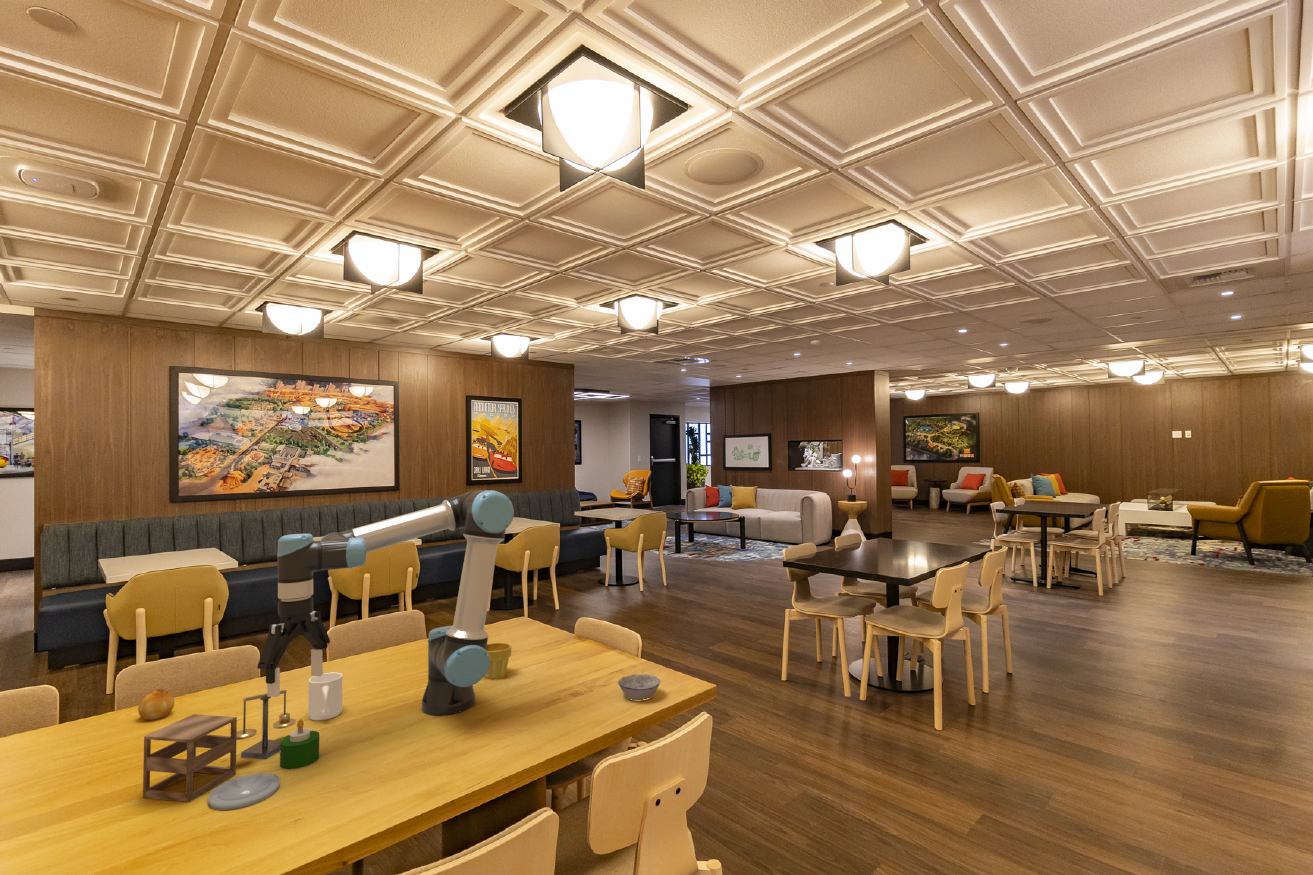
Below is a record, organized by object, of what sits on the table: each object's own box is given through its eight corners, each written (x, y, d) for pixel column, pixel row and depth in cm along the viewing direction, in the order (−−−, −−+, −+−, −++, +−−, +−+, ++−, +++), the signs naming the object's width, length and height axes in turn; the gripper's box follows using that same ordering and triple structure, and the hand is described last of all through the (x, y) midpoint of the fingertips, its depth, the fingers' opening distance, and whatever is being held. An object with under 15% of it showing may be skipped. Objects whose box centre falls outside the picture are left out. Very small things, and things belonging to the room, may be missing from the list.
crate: (235, 774, 142) (236, 717, 143) (189, 801, 131) (190, 739, 131) (192, 770, 144) (193, 714, 145) (142, 797, 133) (144, 736, 133)
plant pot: (517, 673, 208) (517, 644, 209) (494, 683, 200) (494, 652, 200) (496, 668, 214) (496, 640, 214) (473, 677, 205) (473, 647, 206)
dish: (293, 780, 139) (293, 774, 139) (246, 812, 126) (246, 806, 126) (243, 775, 141) (244, 770, 142) (192, 807, 129) (192, 800, 129)
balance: (303, 736, 162) (303, 676, 162) (247, 769, 144) (248, 702, 145) (280, 734, 163) (280, 675, 164) (222, 767, 145) (223, 701, 146)
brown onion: (178, 709, 175) (173, 682, 178) (141, 720, 169) (137, 692, 172) (175, 717, 180) (170, 690, 182) (139, 728, 174) (135, 701, 177)
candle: (291, 772, 143) (291, 729, 143) (273, 763, 147) (273, 721, 148) (326, 757, 150) (326, 716, 150) (307, 749, 154) (308, 709, 155)
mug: (307, 728, 167) (307, 688, 167) (308, 712, 177) (309, 675, 178) (342, 721, 171) (342, 682, 171) (341, 706, 182) (342, 670, 182)
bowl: (614, 703, 182) (614, 686, 182) (623, 688, 194) (623, 672, 195) (657, 705, 180) (657, 688, 180) (663, 689, 192) (663, 674, 193)
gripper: (319, 586, 162) (320, 667, 162) (238, 610, 138) (238, 705, 137) (344, 587, 161) (345, 668, 160) (266, 611, 137) (267, 706, 136)
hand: (296, 685), depth 149 cm, fingers open, 13 cm apart
